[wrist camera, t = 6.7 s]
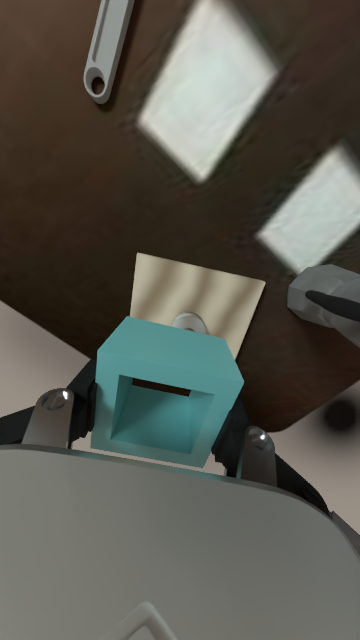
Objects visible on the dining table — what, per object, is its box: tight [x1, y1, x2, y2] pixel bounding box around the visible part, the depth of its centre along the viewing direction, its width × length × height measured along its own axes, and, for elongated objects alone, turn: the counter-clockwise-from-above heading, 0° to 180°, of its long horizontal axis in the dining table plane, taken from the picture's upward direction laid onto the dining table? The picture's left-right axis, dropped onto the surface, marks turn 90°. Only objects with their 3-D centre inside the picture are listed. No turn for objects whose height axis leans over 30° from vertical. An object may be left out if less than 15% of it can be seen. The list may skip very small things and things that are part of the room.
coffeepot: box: [287, 264, 360, 348], centre depth 21 cm, size 15×9×18 cm, turn 76°
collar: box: [91, 316, 244, 468], centre depth 11 cm, size 6×6×4 cm
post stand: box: [130, 253, 266, 360], centre depth 27 cm, size 20×20×10 cm
